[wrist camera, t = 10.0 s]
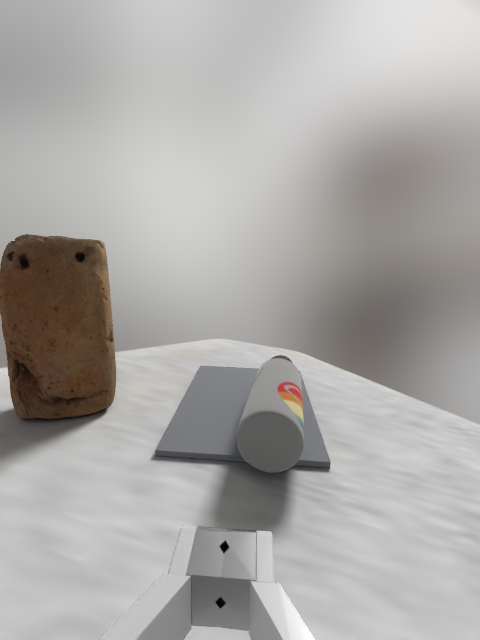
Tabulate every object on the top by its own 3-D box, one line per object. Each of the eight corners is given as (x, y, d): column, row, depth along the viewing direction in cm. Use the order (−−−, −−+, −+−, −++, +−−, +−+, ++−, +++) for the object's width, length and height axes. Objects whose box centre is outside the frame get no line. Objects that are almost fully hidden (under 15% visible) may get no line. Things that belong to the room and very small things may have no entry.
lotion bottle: (319, 452, 24) (308, 371, 44) (275, 397, 24) (283, 340, 44) (263, 486, 26) (276, 392, 45) (221, 433, 26) (252, 362, 45)
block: (117, 388, 42) (108, 238, 38) (118, 414, 35) (107, 236, 31) (24, 400, 38) (2, 234, 34) (4, 432, 31) (-26, 230, 27)
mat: (329, 467, 28) (330, 462, 27) (155, 455, 29) (155, 450, 28) (299, 374, 49) (299, 370, 49) (200, 369, 50) (200, 365, 50)
